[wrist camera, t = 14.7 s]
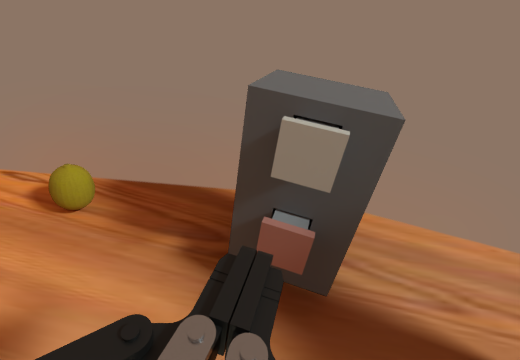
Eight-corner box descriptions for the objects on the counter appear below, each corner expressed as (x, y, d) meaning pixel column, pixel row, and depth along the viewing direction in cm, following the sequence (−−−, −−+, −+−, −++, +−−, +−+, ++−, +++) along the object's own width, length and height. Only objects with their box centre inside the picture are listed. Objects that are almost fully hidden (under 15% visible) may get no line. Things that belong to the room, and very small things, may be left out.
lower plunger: (301, 275, 29) (314, 238, 27) (254, 259, 30) (261, 222, 28) (311, 225, 37) (322, 192, 34) (273, 213, 38) (280, 180, 35)
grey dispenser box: (326, 296, 35) (405, 119, 22) (227, 262, 37) (248, 85, 25) (331, 237, 45) (388, 92, 33) (253, 213, 47) (277, 69, 35)
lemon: (51, 207, 41) (36, 161, 37) (90, 194, 45) (81, 152, 41) (64, 226, 38) (49, 179, 34) (104, 211, 42) (96, 167, 38)
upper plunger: (329, 193, 24) (349, 135, 21) (270, 176, 25) (281, 119, 22) (334, 153, 31) (349, 107, 28) (289, 142, 32) (299, 96, 29)
